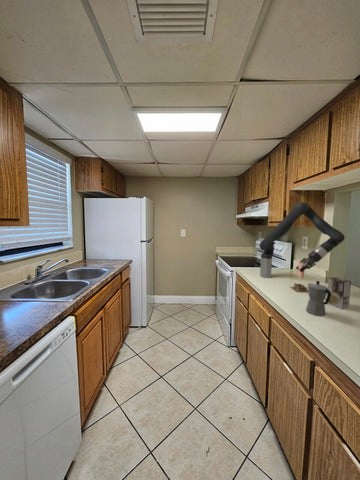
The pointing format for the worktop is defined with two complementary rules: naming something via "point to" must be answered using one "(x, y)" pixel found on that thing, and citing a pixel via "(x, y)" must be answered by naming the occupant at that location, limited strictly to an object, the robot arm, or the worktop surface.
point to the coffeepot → (317, 299)
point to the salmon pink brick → (300, 274)
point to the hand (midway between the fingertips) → (298, 270)
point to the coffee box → (339, 292)
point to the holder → (299, 288)
